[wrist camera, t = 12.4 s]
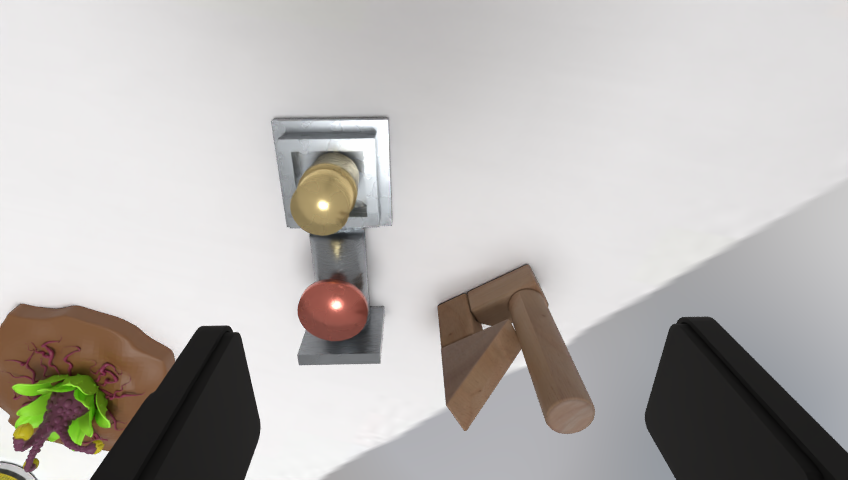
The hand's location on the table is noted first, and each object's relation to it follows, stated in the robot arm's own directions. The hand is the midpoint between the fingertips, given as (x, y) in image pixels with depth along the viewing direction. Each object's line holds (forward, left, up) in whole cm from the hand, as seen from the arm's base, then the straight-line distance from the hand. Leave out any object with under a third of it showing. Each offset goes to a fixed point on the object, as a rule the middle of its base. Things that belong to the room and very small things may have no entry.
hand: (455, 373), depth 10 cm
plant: (+30, -38, -34) cm, 59 cm away
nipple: (+6, -8, -32) cm, 34 cm away
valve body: (+12, -8, -33) cm, 36 cm away
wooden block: (+20, +7, -34) cm, 40 cm away
